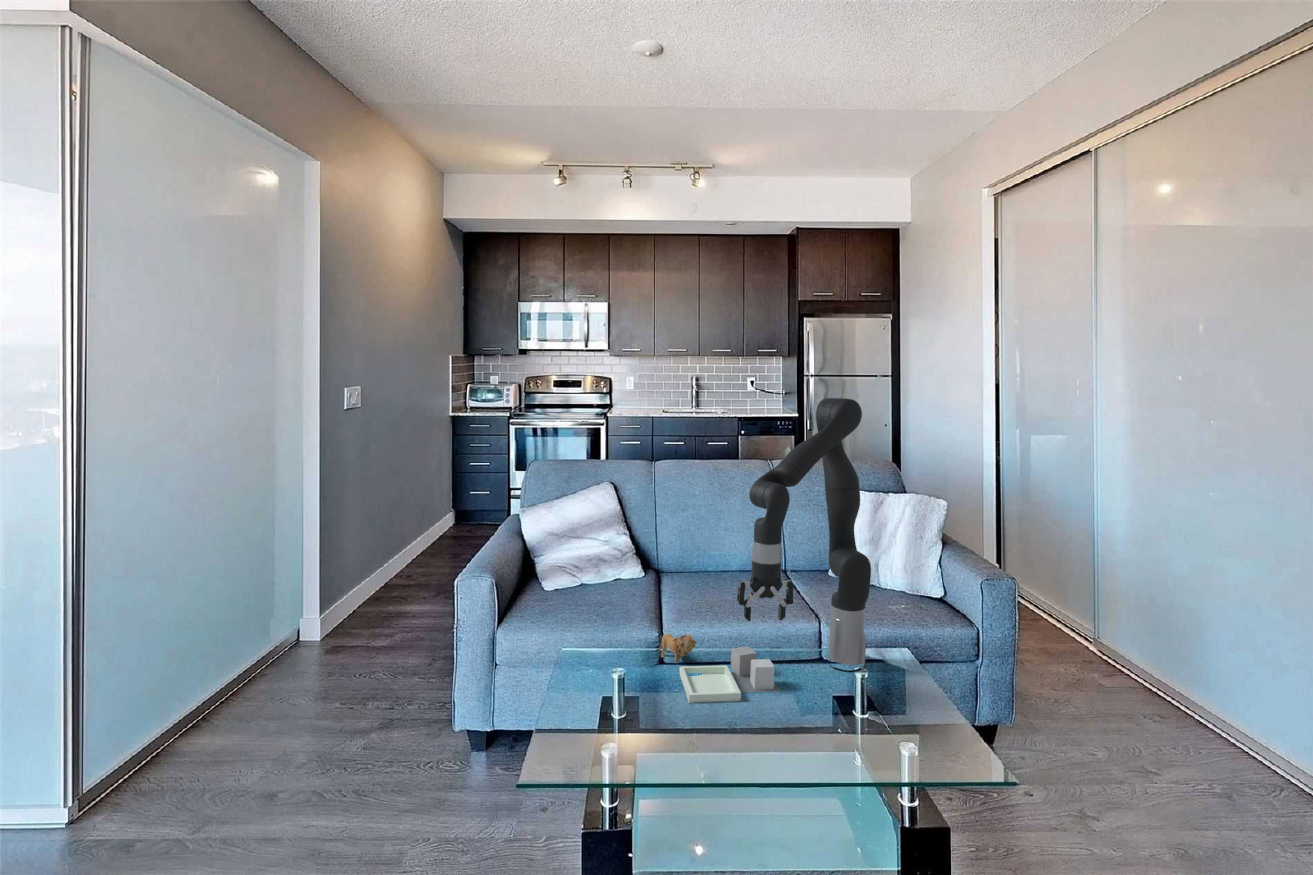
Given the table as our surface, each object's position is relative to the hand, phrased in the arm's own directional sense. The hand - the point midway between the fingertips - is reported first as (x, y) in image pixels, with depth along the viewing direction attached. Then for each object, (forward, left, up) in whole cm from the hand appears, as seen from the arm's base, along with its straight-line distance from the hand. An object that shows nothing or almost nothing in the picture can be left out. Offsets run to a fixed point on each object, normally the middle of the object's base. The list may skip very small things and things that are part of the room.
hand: (764, 619), depth 200 cm
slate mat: (+2, -4, -18) cm, 19 cm away
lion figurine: (+20, -18, -18) cm, 33 cm away
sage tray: (+14, 0, -18) cm, 23 cm away
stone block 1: (+3, -9, -18) cm, 20 cm away
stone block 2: (0, 0, -18) cm, 18 cm away
